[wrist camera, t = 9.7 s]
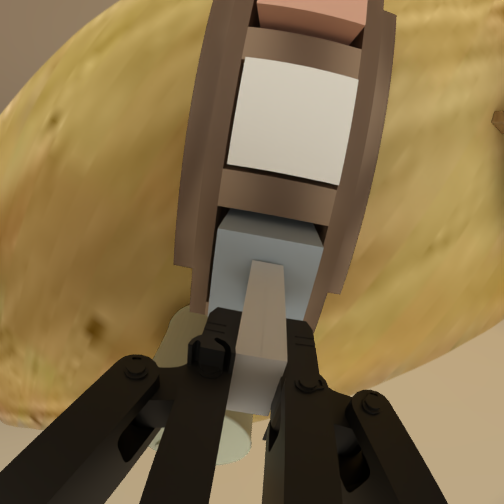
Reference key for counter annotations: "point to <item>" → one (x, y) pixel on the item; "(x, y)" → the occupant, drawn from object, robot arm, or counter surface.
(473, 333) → the counter surface
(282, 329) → the robot arm
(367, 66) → the brown block holder tray
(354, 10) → the key terracotta
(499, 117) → the planter
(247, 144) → the key white
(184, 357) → the can
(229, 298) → the grey square block
